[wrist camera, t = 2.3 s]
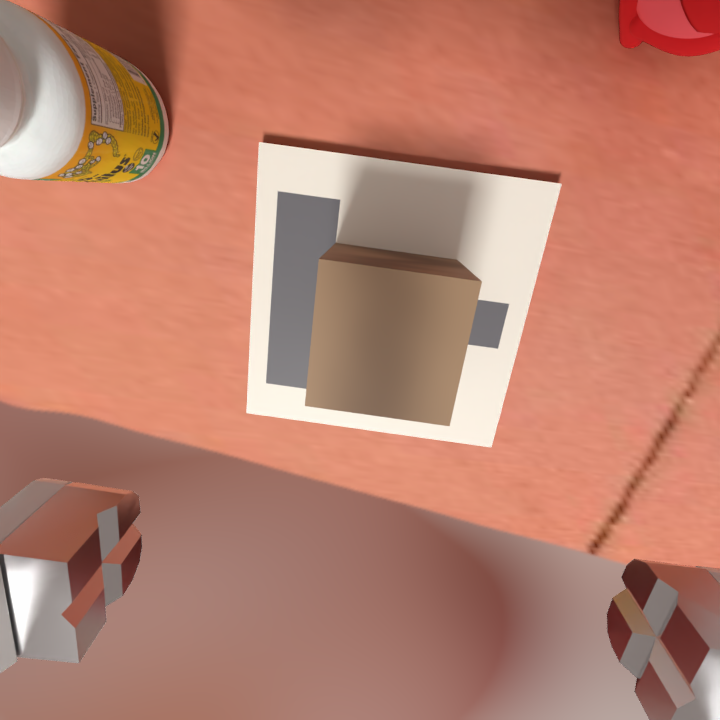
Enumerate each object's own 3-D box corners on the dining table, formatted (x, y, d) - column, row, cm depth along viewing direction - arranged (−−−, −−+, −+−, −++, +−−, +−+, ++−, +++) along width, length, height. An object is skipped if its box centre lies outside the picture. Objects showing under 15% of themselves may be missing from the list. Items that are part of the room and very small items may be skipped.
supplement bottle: (155, 48, 20) (-30, -71, 11) (184, 176, 22) (45, 163, 13) (43, 66, 21) (-222, -34, 12) (81, 190, 22) (-123, 186, 13)
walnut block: (457, 259, 22) (482, 281, 16) (434, 372, 24) (449, 426, 18) (335, 242, 22) (318, 258, 16) (323, 357, 24) (304, 406, 18)
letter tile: (556, 183, 21) (561, 183, 21) (489, 442, 26) (491, 447, 25) (262, 143, 21) (258, 142, 21) (249, 408, 26) (246, 412, 26)
